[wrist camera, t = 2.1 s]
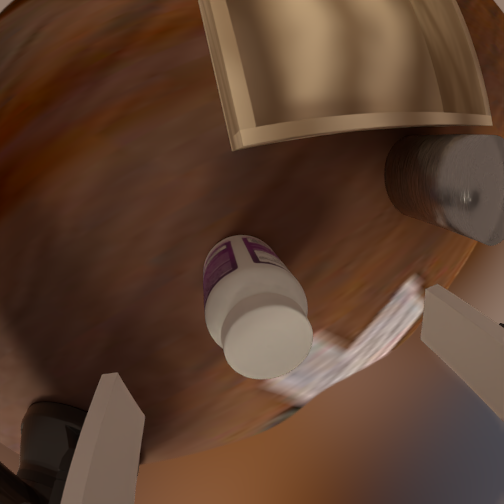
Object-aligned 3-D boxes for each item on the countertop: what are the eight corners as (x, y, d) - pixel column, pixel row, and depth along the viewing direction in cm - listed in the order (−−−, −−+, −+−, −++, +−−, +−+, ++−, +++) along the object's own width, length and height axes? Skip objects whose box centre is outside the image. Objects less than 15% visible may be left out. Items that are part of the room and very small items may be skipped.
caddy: (231, 151, 19) (243, 146, 13) (195, -11, 14) (195, -56, 9) (445, 126, 20) (492, 125, 15) (408, -2, 16) (445, -22, 10)
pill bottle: (217, 311, 22) (229, 404, 13) (192, 247, 20) (185, 317, 11) (285, 288, 22) (335, 367, 13) (266, 222, 20) (316, 271, 11)
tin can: (388, 224, 22) (467, 257, 14) (378, 138, 20) (463, 135, 11) (444, 209, 23) (519, 232, 14) (437, 134, 20) (516, 135, 12)
